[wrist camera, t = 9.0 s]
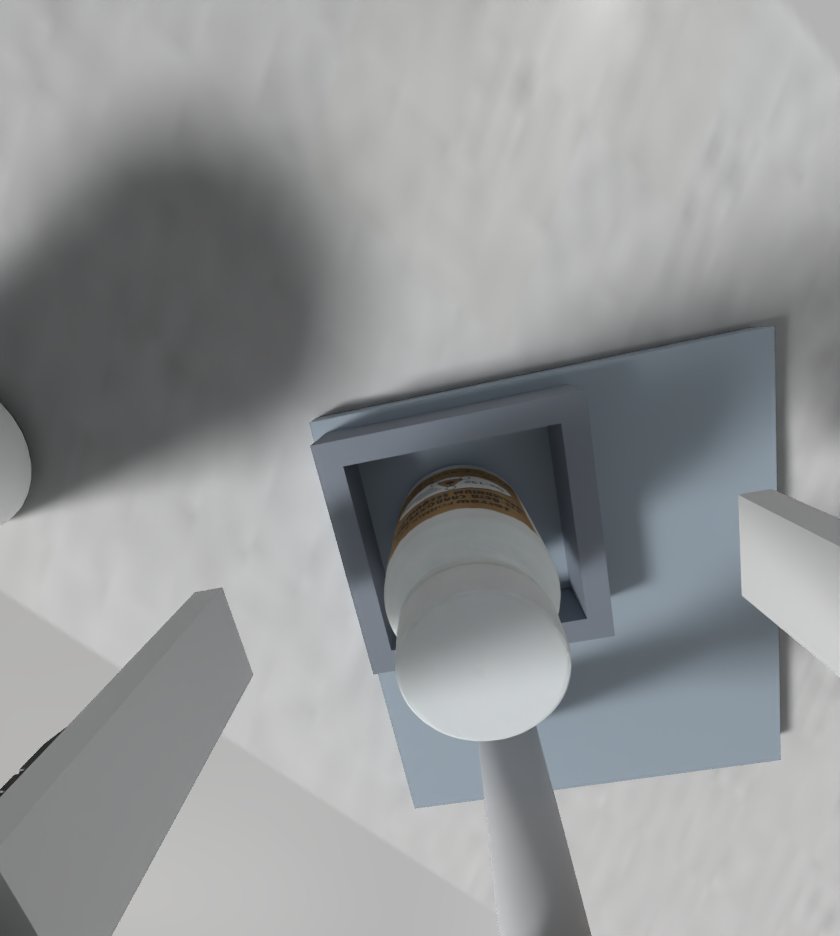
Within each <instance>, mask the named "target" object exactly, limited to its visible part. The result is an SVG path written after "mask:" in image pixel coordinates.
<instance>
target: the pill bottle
mask: <svg viewBox="0 0 840 936" xmlns="http://www.w3.org/2000/svg"><path fill="white" fill-rule="evenodd" d="M560 599H561V591H560V582H559V577H558V573H557V570H556V567H555V565H554V563H553V560H552V558H551V556H550V554H549V552H548V550H547V548H546V546H545V545H544V543H543V541H542V539H541V537H540V535H539V533H538V531H537V530H536V528H535V526H534V524H533V522H532V520H531V518H530V517H529V515H528V513H527V511H526V509H525V507H524V505H523V504H522V502H521V500H520V498H519V497H518V495H517V493H516V492H515V491H514V489H513V488H512V487H511V486H510V485H509V484H508V483H507V482H506V481H505V480H504V479H503V478H501V477H500V476H499V475H497V474H495V473H494V472H492V471H490V470H488V469H485V468H482V467H478V466H473V465H453V466H448V467H444V468H441V469H438V470H436V471H434V472H432V473H430V474H428V475H426V476H425V477H423V478H422V479H421V480H419V481H418V482H417V483H416V484H415V485H414V486H413V488H412V489H411V490H410V492H409V493H408V495H407V496H406V498H405V500H404V502H403V504H402V507H401V510H400V514H399V517H398V521H397V526H396V530H395V534H394V538H393V544H392V549H391V553H390V557H389V561H388V566H387V571H386V577H385V584H384V603H385V610H386V614H387V617H388V620H389V623H390V625H391V627H392V630H393V631H394V633H395V635H396V637H397V640H396V655H395V671H396V677H397V682H398V686H399V689H400V691H401V694H402V696H403V698H404V700H405V701H406V703H407V705H408V706H409V707H410V709H411V710H412V711H413V712H414V713H415V714H416V715H417V716H418V717H419V718H420V719H421V720H422V721H423V722H425V723H426V724H427V725H429V726H431V727H432V728H434V729H435V730H437V731H439V732H441V733H443V734H446V735H448V736H451V737H454V738H458V739H463V740H470V741H493V740H501V739H506V738H509V737H512V736H516V735H519V734H521V733H523V732H525V731H527V730H529V729H531V728H533V727H534V726H536V725H537V724H539V723H540V722H541V721H543V720H544V719H545V718H546V717H547V716H548V715H550V714H551V713H552V712H553V711H554V709H555V708H556V707H557V706H558V704H559V703H560V701H561V700H562V698H563V697H564V695H565V693H566V690H567V688H568V685H569V681H570V676H571V667H572V661H571V651H570V647H569V643H568V640H567V637H566V635H565V632H564V630H563V627H562V624H561V622H560V619H559V616H558V613H559V609H560Z"/></svg>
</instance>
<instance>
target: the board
mask: <svg viewBox="0 0 840 936" xmlns="http://www.w3.org/2000/svg"><path fill="white" fill-rule="evenodd" d="M309 424H310V427H311V431H312V435H313V438H314V443H313V444H312V445H311V446H310V447H311V450H312V454H313V458H314V461H315V465H316V468H317V472H318V476H319V479H320V483H321V487H322V490H323V494H324V497H325V501H326V505H327V508H328V512H329V515H330V519H331V523H332V526H333V530H334V533H335V537H336V541H337V544H338V548H339V552H340V555H341V559H342V562H343V566H344V570H345V573H346V577H347V580H348V584H349V588H350V591H351V595H352V598H353V602H354V606H355V609H356V613H357V617H358V620H359V624H360V627H361V631H362V635H363V638H364V642H365V645H366V649H367V653H368V656H369V660H370V663H371V667H372V671H373V674H378V676H379V679H380V683H381V687H382V690H383V694H384V698H385V701H386V705H387V709H388V712H389V716H390V720H391V723H392V727H393V730H394V734H395V738H396V741H397V745H398V749H399V752H400V756H401V760H402V763H403V767H404V771H405V774H406V778H407V782H408V785H409V789H410V793H411V796H412V800H413V803H414V807H415V808H422V807H430V806H437V805H445V804H452V803H460V802H467V801H475V800H482V799H484V801H485V810H486V819H487V829H488V838H489V847H490V856H491V866H492V875H493V884H494V893H495V903H496V912H497V921H498V930H499V936H591V932H590V928H589V925H588V921H587V917H586V913H585V909H584V906H583V902H582V898H581V894H580V890H579V887H578V883H577V879H576V875H575V871H574V868H573V864H572V860H571V856H570V852H569V849H568V845H567V841H566V837H565V833H564V830H563V826H562V822H561V818H560V814H559V811H558V807H557V803H556V799H555V795H554V792H553V790H557V789H565V788H572V787H580V786H587V785H595V784H602V783H610V782H617V781H625V780H632V779H640V778H648V777H655V776H663V775H670V774H678V773H685V772H693V771H700V770H708V769H715V768H723V767H730V766H738V765H745V764H753V763H760V762H768V761H775V760H781V755H780V682H779V626H778V625H777V624H775V623H774V622H773V621H772V620H771V619H769V618H768V617H767V616H766V615H764V614H763V613H762V612H761V611H760V610H758V609H757V608H756V607H755V606H754V605H752V604H751V603H750V602H749V601H748V600H746V599H745V598H744V597H743V596H742V589H741V561H740V533H739V506H738V495H740V494H746V493H751V492H757V491H762V490H768V489H773V490H775V491H777V463H776V391H775V326H769V327H752V328H747V329H742V330H737V331H732V332H728V333H723V334H718V335H713V336H708V337H704V338H699V339H694V340H689V341H684V342H680V343H675V344H670V345H665V346H660V347H656V348H651V349H646V350H641V351H636V352H632V353H627V354H622V355H617V356H612V357H607V358H603V359H598V360H593V361H588V362H583V363H579V364H574V365H569V366H564V367H559V368H555V369H550V370H545V371H540V372H535V373H531V374H526V375H521V376H516V377H511V378H507V379H502V380H497V381H492V382H487V383H482V384H478V385H473V386H468V387H463V388H458V389H454V390H449V391H444V392H439V393H434V394H430V395H425V396H420V397H415V398H410V399H406V400H401V401H396V402H391V403H386V404H382V405H377V406H372V407H367V408H362V409H357V410H353V411H348V412H343V413H338V414H333V415H329V416H324V417H319V418H316V419H314V420H313V421H311V422H310V423H309ZM453 465H473V466H478V467H482V468H485V469H488V470H490V471H492V472H494V473H495V474H497V475H499V476H500V477H501V478H503V479H504V480H505V481H506V482H507V483H508V484H509V485H510V486H511V487H512V488H513V489H514V491H515V492H516V493H517V495H518V497H519V498H520V500H521V502H522V504H523V505H524V507H525V509H526V511H527V513H528V515H529V517H530V518H531V520H532V522H533V524H534V526H535V528H536V530H537V531H538V533H539V535H540V537H541V539H542V541H543V543H544V545H545V546H546V548H547V550H548V552H549V554H550V556H551V558H552V560H553V563H554V565H555V567H556V570H557V573H558V577H559V582H560V591H561V599H560V609H559V613H558V616H559V619H560V622H561V624H562V627H563V630H564V632H565V635H566V637H567V640H568V643H569V647H570V651H571V661H572V667H571V676H570V681H569V685H568V688H567V690H566V693H565V695H564V697H563V698H562V700H561V701H560V703H559V704H558V706H557V707H556V708H555V709H554V711H553V712H552V713H551V714H550V715H548V716H547V717H546V718H545V719H544V720H543V721H541V722H540V723H539V724H537V725H536V726H534V727H533V728H531V729H529V730H527V731H525V732H523V733H521V734H519V735H516V736H512V737H509V738H506V739H501V740H493V741H470V740H463V739H458V738H454V737H451V736H448V735H446V734H443V733H441V732H439V731H437V730H435V729H434V728H432V727H431V726H429V725H427V724H426V723H425V722H423V721H422V720H421V719H420V718H419V717H418V716H417V715H416V714H415V713H414V712H413V711H412V710H411V709H410V707H409V706H408V705H407V703H406V701H405V700H404V698H403V696H402V694H401V691H400V689H399V686H398V682H397V677H396V671H395V655H396V640H397V637H396V635H395V633H394V631H393V630H392V627H391V625H390V623H389V620H388V617H387V614H386V610H385V603H384V584H385V577H386V571H387V566H388V561H389V557H390V553H391V549H392V544H393V538H394V534H395V530H396V526H397V521H398V517H399V514H400V510H401V507H402V504H403V502H404V500H405V498H406V496H407V495H408V493H409V492H410V490H411V489H412V488H413V486H414V485H415V484H416V483H417V482H418V481H419V480H421V479H422V478H423V477H425V476H426V475H428V474H430V473H432V472H434V471H436V470H438V469H441V468H444V467H448V466H453Z"/></svg>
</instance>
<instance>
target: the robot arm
mask: <svg viewBox="0 0 840 936" xmlns="http://www.w3.org/2000/svg"><path fill="white" fill-rule="evenodd" d="M738 506H739V533H740V561H741V589H742V596H743V597H744V598H745V599H746V600H748V601H749V602H750V603H751V604H752V605H754V606H755V607H756V608H757V609H758V610H760V611H761V612H762V613H763V614H764V615H766V616H767V617H768V618H769V619H771V620H772V621H773V622H774V623H775V624H777V625H778V626H779V627H780V628H781V629H783V630H784V631H785V632H786V633H787V634H789V635H790V636H791V637H792V638H793V639H795V640H796V641H797V642H798V643H799V644H801V645H802V646H803V647H804V648H805V649H807V650H808V651H809V652H810V653H811V654H813V655H814V656H815V657H816V658H817V659H819V660H820V661H821V662H822V663H823V664H825V665H826V666H827V667H828V668H829V669H831V670H832V671H833V672H834V673H835V674H837V675H838V676H839V677H840V519H838V518H836V517H834V516H832V515H829V514H827V513H825V512H823V511H820V510H818V509H816V508H814V507H811V506H809V505H807V504H804V503H802V502H800V501H798V500H795V499H793V498H791V497H789V496H786V495H784V494H782V493H780V492H777V491H775V490H773V489H768V490H762V491H757V492H751V493H746V494H740V495H738ZM252 676H253V673H252V670H251V667H250V664H249V662H248V659H247V656H246V653H245V650H244V648H243V645H242V642H241V639H240V636H239V633H238V631H237V628H236V625H235V622H234V619H233V617H232V614H231V611H230V608H229V605H228V602H227V600H226V597H225V594H224V591H223V588H217V589H211V590H206V591H200V592H195V593H194V594H193V595H192V596H191V597H190V598H189V599H188V600H187V601H186V602H185V603H184V604H183V605H182V607H181V608H180V609H179V610H178V611H177V612H176V613H175V614H174V615H173V616H172V617H171V618H170V619H169V620H168V621H167V622H166V623H165V624H164V625H163V626H162V628H161V629H160V630H159V631H158V632H157V633H156V634H155V635H154V636H153V637H152V638H151V639H150V640H149V641H148V642H147V643H146V644H145V645H144V646H143V648H142V649H141V650H140V651H139V652H138V653H137V654H136V655H135V656H134V657H133V658H132V659H131V660H130V661H129V662H128V663H127V664H126V665H125V666H124V667H123V669H122V670H121V671H120V672H119V673H118V674H117V675H116V676H115V677H114V678H113V679H112V680H111V681H110V682H109V683H108V684H107V685H106V686H105V687H104V689H103V690H102V691H101V692H100V693H99V694H98V695H97V696H96V697H95V698H94V699H93V700H92V701H91V702H90V703H89V704H88V705H87V707H85V709H84V710H83V711H82V712H81V713H80V714H79V715H78V716H77V717H76V718H75V719H74V720H73V721H72V722H71V723H70V724H69V725H68V726H67V727H66V728H65V729H63V730H62V731H61V732H59V733H58V734H57V735H56V736H54V737H53V738H52V739H50V740H49V741H48V742H46V743H45V744H44V745H43V746H42V747H41V748H40V749H39V750H38V751H37V752H36V753H35V754H34V755H33V756H32V757H31V758H30V759H29V760H28V761H27V762H26V763H25V765H23V766H22V768H21V769H20V772H19V774H16V775H14V776H13V777H12V778H11V779H10V780H9V781H8V782H7V783H6V784H5V785H4V786H3V787H2V788H1V789H0V936H112V934H113V932H114V930H115V928H116V927H117V925H118V923H119V921H120V919H121V917H122V916H123V914H124V912H125V910H126V908H127V906H128V905H129V903H130V901H131V899H132V897H133V895H134V894H135V892H136V890H137V888H138V886H139V884H140V882H141V880H142V879H143V877H144V875H145V873H146V871H147V870H148V868H149V866H150V864H151V862H152V860H153V858H154V857H155V855H156V853H157V851H158V849H159V847H160V846H161V844H162V842H163V840H164V838H165V836H166V835H167V833H168V831H169V829H170V827H171V825H172V823H173V822H174V820H175V818H176V816H177V814H178V812H179V810H180V809H181V807H182V805H183V803H184V801H185V799H186V798H187V796H188V794H189V792H190V790H191V788H192V787H193V784H194V783H195V781H196V779H197V777H198V776H199V774H200V772H201V770H202V768H203V766H204V765H205V763H206V761H207V759H208V757H209V755H210V753H211V751H212V750H213V748H214V746H215V744H216V742H217V741H218V739H219V737H220V735H221V733H222V731H223V730H224V728H225V726H226V724H227V722H228V720H229V718H230V717H231V715H232V713H233V711H234V709H235V707H236V706H237V704H238V702H239V700H240V698H241V696H242V695H243V693H244V691H245V689H246V687H247V685H248V683H249V682H250V680H251V678H252Z"/></svg>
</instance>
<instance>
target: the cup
mask: <svg viewBox="0 0 840 936" xmlns="http://www.w3.org/2000/svg"><path fill="white" fill-rule="evenodd" d="M30 483H31V461H30V456H29V451H28V446H27V444H26V441H25V439H24V436H23V434H22V432H21V430H20V428H19V427H18V425H17V423H16V422H15V420H14V419H13V417H12V416H11V415H10V413H9V412H8V411H7V410H6V409H5V408H4V406H3V405H2V404H1V403H0V526H1V525H2V524H4V523H5V522H7V521H8V520H9V519H11V518H12V517H13V516H14V515H15V514H16V513H17V512H18V510H19V509H20V508H21V507H22V505H23V503H24V501H25V499H26V497H27V495H28V492H29V488H30Z"/></svg>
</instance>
